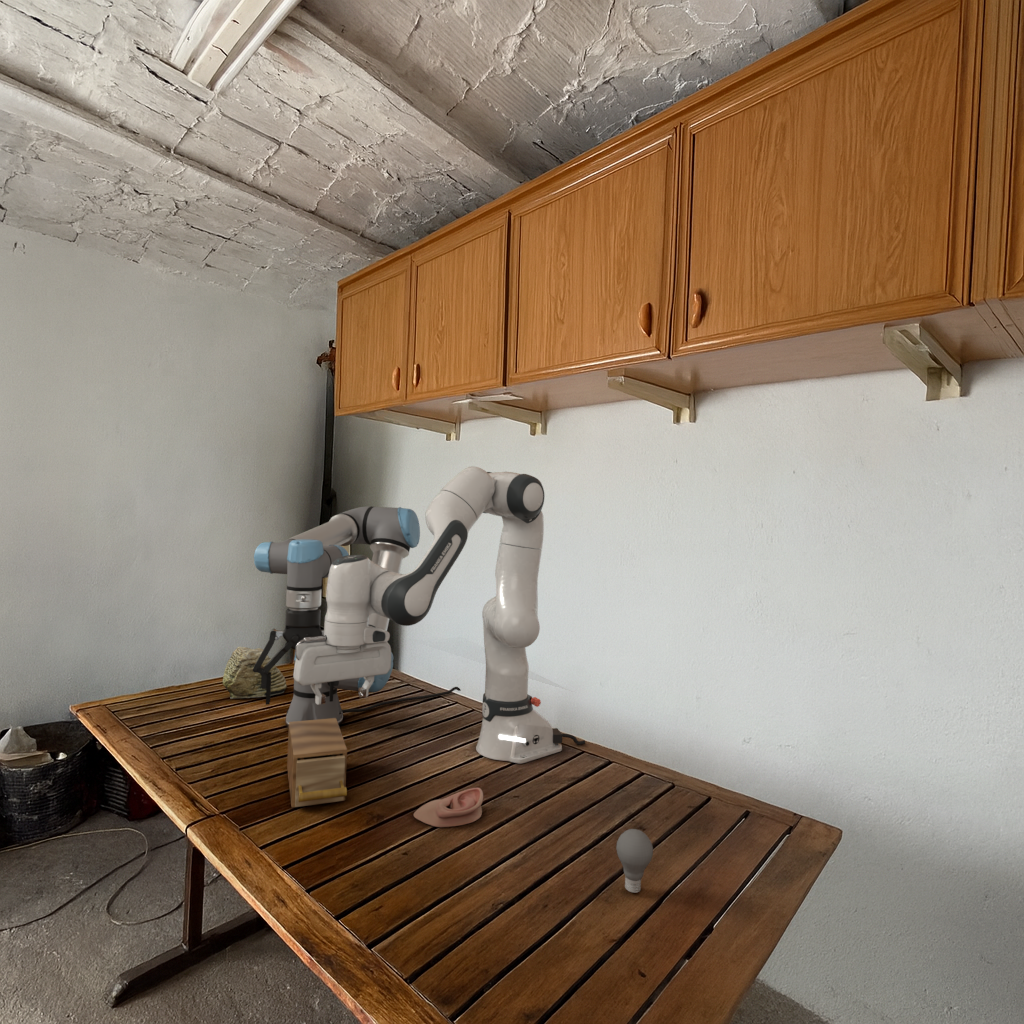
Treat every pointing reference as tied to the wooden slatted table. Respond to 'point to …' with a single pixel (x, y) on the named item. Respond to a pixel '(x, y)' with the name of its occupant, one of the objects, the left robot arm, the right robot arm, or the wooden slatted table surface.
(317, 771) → the drawer
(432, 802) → the anatomical model
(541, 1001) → the wooden slatted table surface
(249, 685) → the fossil
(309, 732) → the cabinet
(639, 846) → the light bulb
